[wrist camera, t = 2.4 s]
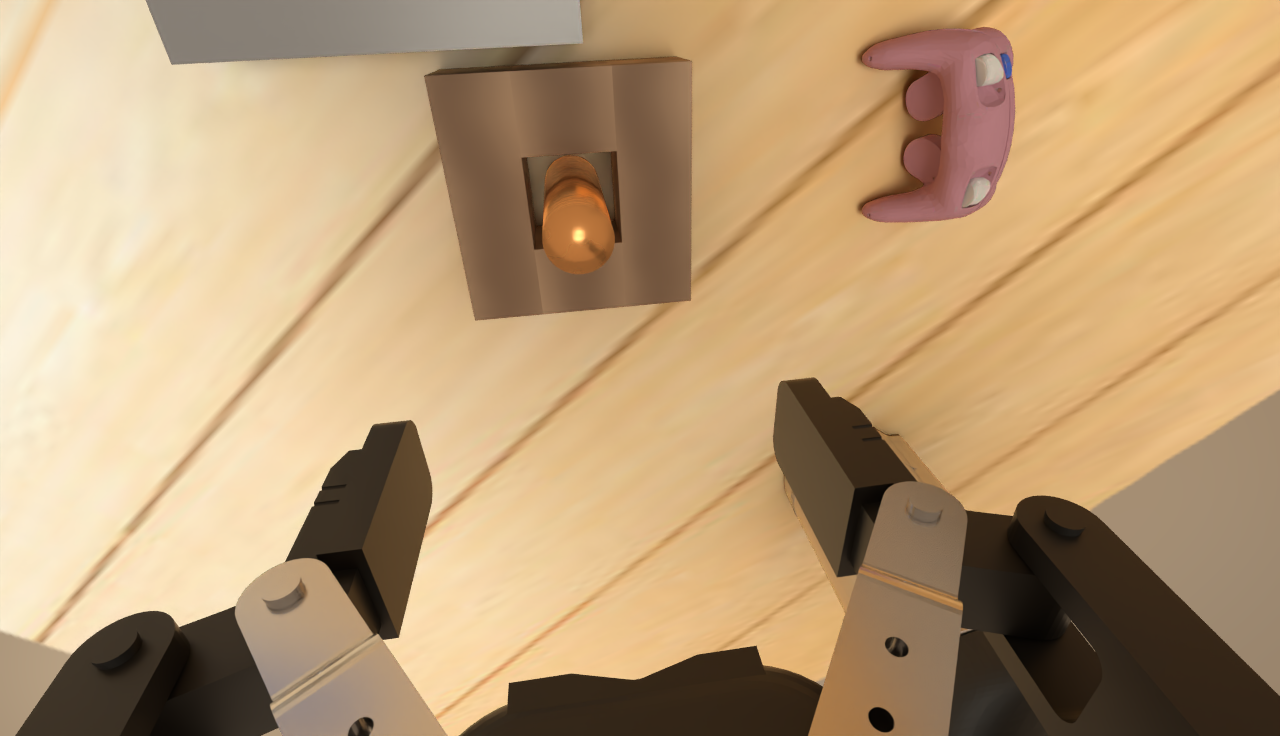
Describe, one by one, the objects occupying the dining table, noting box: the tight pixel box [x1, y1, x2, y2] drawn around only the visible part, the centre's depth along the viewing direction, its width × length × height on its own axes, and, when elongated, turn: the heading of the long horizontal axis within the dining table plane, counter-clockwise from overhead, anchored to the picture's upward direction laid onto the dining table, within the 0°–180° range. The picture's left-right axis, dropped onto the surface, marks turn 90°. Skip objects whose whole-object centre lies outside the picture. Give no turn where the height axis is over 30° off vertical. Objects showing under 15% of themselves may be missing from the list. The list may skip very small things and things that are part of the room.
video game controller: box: [862, 27, 1015, 222], centre depth 31 cm, size 10×5×7 cm, turn 11°
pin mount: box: [424, 57, 692, 320], centre depth 31 cm, size 12×12×4 cm
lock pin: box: [542, 155, 615, 274], centre depth 28 cm, size 3×3×10 cm
